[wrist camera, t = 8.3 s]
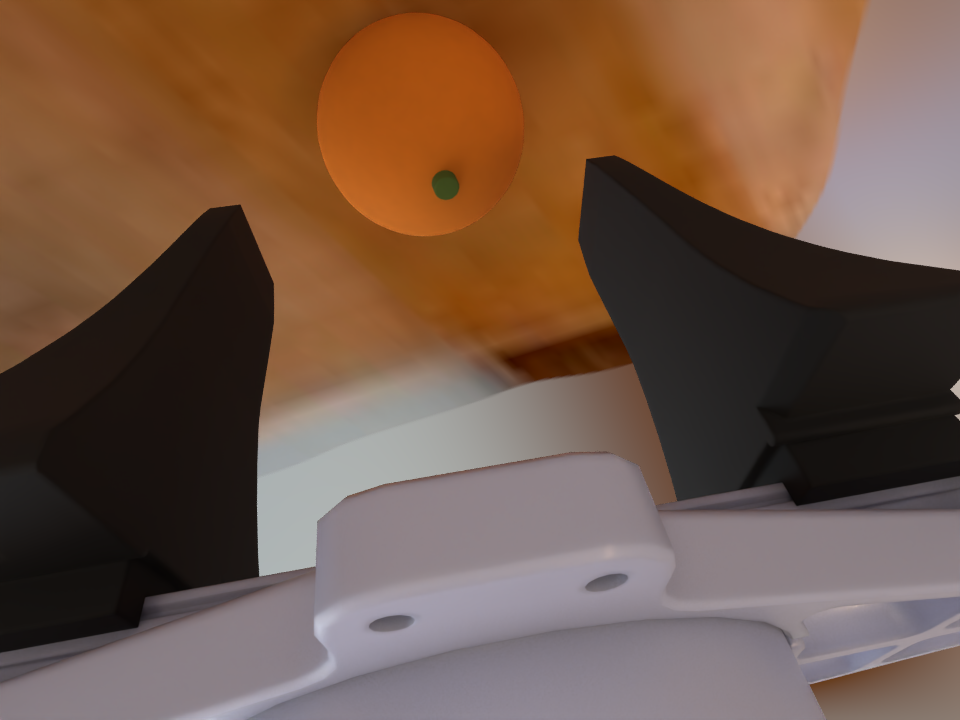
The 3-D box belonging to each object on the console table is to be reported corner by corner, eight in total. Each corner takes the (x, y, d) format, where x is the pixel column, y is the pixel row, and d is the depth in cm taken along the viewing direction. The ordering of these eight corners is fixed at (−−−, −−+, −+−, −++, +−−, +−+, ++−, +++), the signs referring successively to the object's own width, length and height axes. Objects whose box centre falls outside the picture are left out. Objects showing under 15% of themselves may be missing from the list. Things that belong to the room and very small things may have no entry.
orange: (303, 163, 17) (315, 274, 13) (320, -41, 14) (341, 31, 10) (465, 187, 19) (514, 289, 15) (516, 15, 16) (595, 93, 12)
